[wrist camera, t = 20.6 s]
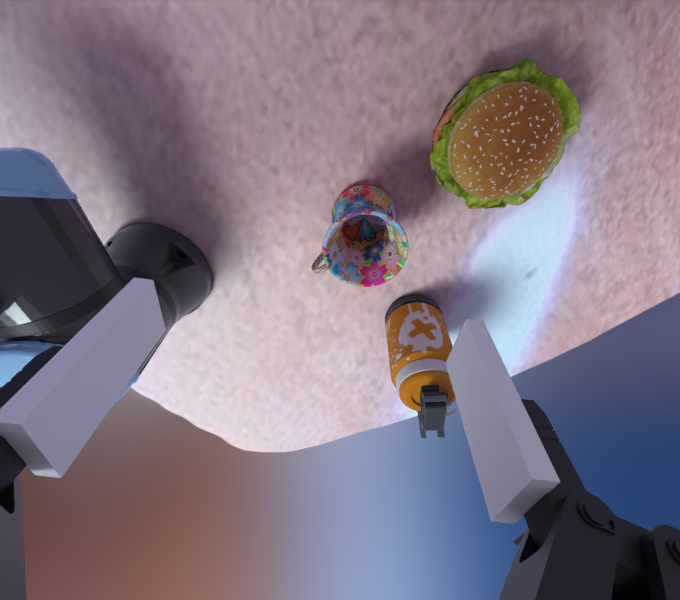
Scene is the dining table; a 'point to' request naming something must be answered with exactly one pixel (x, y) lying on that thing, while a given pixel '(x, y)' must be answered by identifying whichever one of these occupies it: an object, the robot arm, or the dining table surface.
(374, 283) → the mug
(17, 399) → the robot arm
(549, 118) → the food
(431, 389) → the canister
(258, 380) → the dining table surface
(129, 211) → the dining table surface
